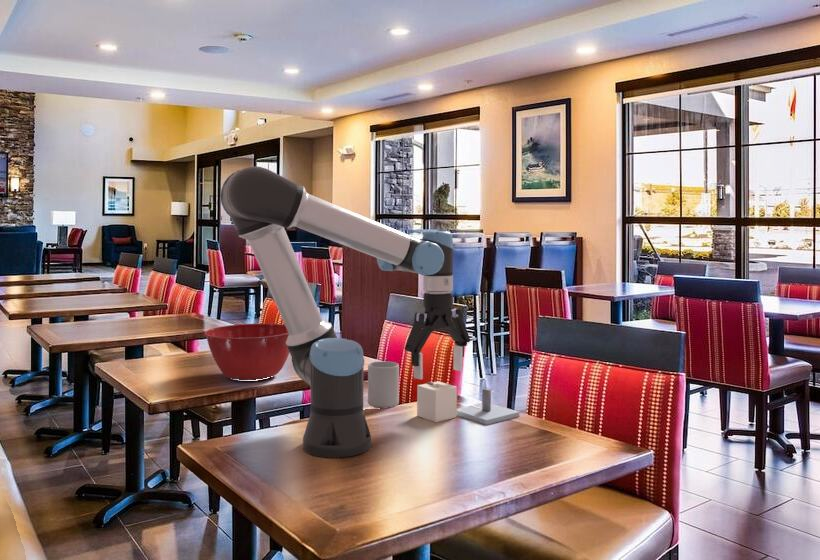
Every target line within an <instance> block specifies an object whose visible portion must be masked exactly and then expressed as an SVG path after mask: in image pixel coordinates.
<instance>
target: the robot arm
mask: <svg viewBox="0 0 820 560" xmlns="http://www.w3.org/2000/svg"><path fill="white" fill-rule="evenodd" d="M220 202H221V206H222V208H223V210H224V211H225V213H226V214H227V215H228V216H229V218H230V220H231V222H232V224H233V226H234V228H235V231H236V234H237V236H238V237H239V238H242V239H243V240H246V241H247V242H248V244H249V245H250V248H251V250H252V253H253V255H254V258H255V260H256V262H257V264H258V266H259V269H260V272H261V273H262V276H263V278H264V280H265V282H266V285H267V288H268V290H269V291H270V294H271V297H272V299H273V301H274V303H275V306H276V308H277V310H278V312H279V315H280V317H281V319H282V321H283V325H285V326H286V329H287V331H288V333H289V336H288V338H287V341H286V345H287V347H288V349H289V355H290V357H291V363H292V367H293V370H294V372H295V373H296V375H297V376H298V378H300V379H301V380H303V382H305V383H306V384H307V385H309V386H310V414H309V417H308V420H307V425H306V428H305V430H304V434H303V436H302V449H303V450H304V452H306V453H307V454H310V455H311V456H315V457H321V458H335V459H336V458H337V459H338V458H347V457H348V458H349V457H354V456H358V455H362V454H364V453H365V452H367V451H369V450H370V449H371V447H372V435H371V431H370V428H369V425H368V422H367V419H366V416H365V412H364V378H365V377H364V373H365V372H364V366H365V357H364V350H363V347H362V346H361V344H359V342H357V341H355V340H352V339H347V338H341V337H338V336H337V333H336V332H335V329H334V327H333V325H332V323H331V322H329V321H326V320H324V319H323V317H322V314H321V312H320V310H319V307H318V305H317V303H316V301H315V298H314V296H313V294H312V290H311V289H310V286H309V284H308V281H307V279H306V277H305V275H304V272H303V269H302V267H301V265H300V263H299V260H298V257H297V255H296V252H295V250H294V249H293V246H292V244H291V241H290V239H289V236H288V234H287V231H286V229H291V228H292V227H295V228H298V229H300V230H303V231H306V232H309V233H311V234H314V235H317V236H318V237H319V236H320V237H321V238H324V239H327V240H329V241H332V242H334V243H338V244H340V245H343V246H345V247H348V248H351V249H353V250H356V251H357V252H361V253H363V254H366V255H369V256H370V257H371V256H372V257H374V258H376V263H377V265H378V268H379V269H380V270H381V271H383V272H384V271H385V272H386V271H387V272H388V271H390V272H393V271H402V272H407V273H414V274H417V275H418V274H419V275H420V276H423V279H422V280H423V281H422V282H423V284H422V285H423V289H422V290H423V291H424V293H423V295H422V296H423V297H422V298H423V300H422V301H423V307H424V313H421V312H415V313H414V319H413V324H412V325H411V329H410V332H409V335H408V338H407V341H406V343H405V345H404V351H406V352H409V353H410V354H411V365H412V366H413V379H417V380H423V379H424V376H423V375H424V372H423V371H424V368H423V366H424V365H423V363H424V362H423V361H424V359H423V355H424V354H423V352H421V351H422V349H423V347H424V346H425V344H426V342H427V341H428V339H429V337H430V336H431V335H432V333H433V332H434V331H435V330H439V329H445V330H446V332H447V333H448V334H449V336H450V338H451V339H452V340H453V343H455V344H453V346H452V347H453V348H452V349H453V354H452V355H453V356H452V357H453V363H452V364H453V366H452V367H453V370H454V371H458V372H463V365H464V364H463V361H464V360H463V359H464V357H465V347H467V345H468V343H470V342H471V339H470V335H469V333H468V330H467V327H466V325H465V322H464V320H463V317H462V309H461V308H455V307H454V294H453V292H452V291H454V241H453V233H451V231H448V230H432V231H431V230H430V231H428V230H427V231H424V232H423V234H422V238H420V239H419V238H417V237H415V236H413V235H411V234H408V233H405V232H404V231H403V232H402V231H401V230H398V229H397V228H396V229H395V228H393V227H390V226H388V225H386V224H384V223H381V222H379V221H376V220H373V219H371V218H369V217H366V216H364V215H362V214H360V213H356V212H354V211H352V210H349V209H347V208H344V207H343V206H339V205H337V204H334V203H332V202H329V201H327V200H326V199H325V200H324V199H323V198H319V197H317V196H315V195H313V194H310V193H308V192H307V190H306V188H305V186H304V185H301V184H299V183H297V182H295V181H292V180H290V179H289V178H287V177H284V176H282V175H280V174H278V173H276V172H274V171H272V170H270V169H268V168H265V167H262V166H248V167H244V168H242V169H239V170H237V171H234V172H232V173H231V174H230V175H228V177H227V178H225V180H224V182H223V184H222V186H221V190H220ZM451 319H452V320H451Z"/></svg>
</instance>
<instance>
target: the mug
mask: <svg viewBox="0 0 820 560" xmlns="http://www.w3.org/2000/svg"><path fill="white" fill-rule="evenodd" d="M399 366H400V365H399V363H397V362H395V361H386V360H385V361H381V360H379V361H372V362H370V363H368V366H367V387H368V388H367V404H368V406H370V407H374V408H381V409H383V408H384V409H385V408H386V409H387V408H394V407H396V406H399V402H400V392H399V391H400V381H399V380H400V367H399Z"/></svg>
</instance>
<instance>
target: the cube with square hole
mask: <svg viewBox="0 0 820 560" xmlns="http://www.w3.org/2000/svg"><path fill="white" fill-rule="evenodd" d="M416 389H417V390H416V392H417V393H416V395H417V396H416V416H417V417H419V418H423V419H425V420H427V421H430V422H434V423H439V422H443V421H447V420H450V419H454V418H457V416H458V415H457V409H458V408H457V406H458V404H457V403H458V399H457V397H458V393H457V392H458V386H456V385H452V384H449V383H445V382H442V381H439V380H438V381H433V382H431V381H426V383H423V384H417V386H416Z"/></svg>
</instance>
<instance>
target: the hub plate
mask: <svg viewBox="0 0 820 560" xmlns="http://www.w3.org/2000/svg"><path fill="white" fill-rule="evenodd" d="M481 392H482V394H481V395H482V399H481V402H480V403H477V404H472V405H468V406H467V405H466V406H464V407H458V408H457V416H458V417H462V418H465V419H467V420H470V421H473V422H477V423H480V424H483V425H486V426H488V425H493V424H495V423H498V422H499V423H500V422H503V421H508V420H510V419H514V418H519V417H520V411H518V410H514V409H511V408H508V407H504V406H501V405H497V404H494V403H492V389H491V388H482V391H481Z"/></svg>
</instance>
